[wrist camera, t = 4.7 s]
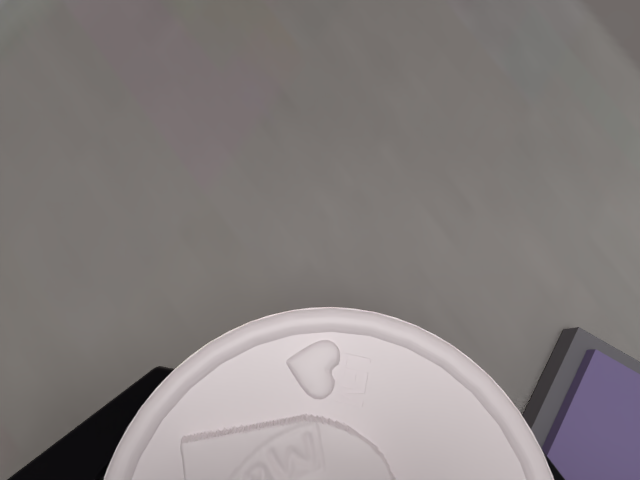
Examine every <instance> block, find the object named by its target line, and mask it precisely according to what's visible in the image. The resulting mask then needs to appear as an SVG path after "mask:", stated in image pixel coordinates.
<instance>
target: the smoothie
mask: <svg viewBox="0 0 640 480" xmlns="http://www.w3.org/2000/svg"><path fill="white" fill-rule="evenodd" d="M103 480H554V478H553V475H552V472H551V470H550V468H549V465H548V463H547V461H546V458H545V456H544V453H543V451H542V449H541V447H540V446H539V444H538V442H537V440H536V438H535V436H534V434H533V432H532V430H531V429H530V427H529V426H528V424H527V423H526V421H525V419H524V418H523V416H522V415H521V413H520V412H519V410H518V409H517V408H516V406H515V405H514V404H513V402H512V401H511V400H510V398H509V397H508V396H507V395H506V393H505V392H504V391H503V390H502V389H501V388H500V387H499V386H498V384H497V383H496V382H495V381H494V380H493V379H492V378H491V377H490V376H489V375H488V374H487V373H486V372H485V371H484V370H483V369H482V368H480V367H479V366H478V365H477V364H476V363H475V362H474V361H473V360H472V359H470V358H469V357H468V356H466V355H465V354H464V353H462V352H461V351H460V350H458V349H457V348H455V347H454V346H453V345H451V344H449V343H448V342H446V341H444V340H443V339H441V338H440V337H438V336H436V335H435V334H433V333H430V332H428V331H426V330H424V329H422V328H420V327H418V326H416V325H414V324H411V323H408V322H406V321H403V320H400V319H398V318H395V317H391V316H388V315H384V314H380V313H376V312H372V311H365V310H359V309H353V308H338V307H321V308H306V309H298V310H291V311H286V312H282V313H277V314H273V315H269V316H266V317H263V318H260V319H257V320H254V321H251V322H248V323H246V324H244V325H242V326H239V327H237V328H235V329H233V330H231V331H228V332H227V333H225V334H223V335H221V336H220V337H218V338H216V339H214V340H213V341H211V342H209V343H208V344H206V345H205V346H203V347H202V348H201V349H199V350H198V351H196V352H195V353H194V354H192V355H191V356H189V357H188V358H187V359H186V360H185V361H184V362H182V363H181V364H180V365H179V366H178V367H177V368H175V369H174V370H173V371H172V372H171V373H170V374H169V375H168V376H167V377H166V378H165V379H164V380H163V381H162V382H161V384H160V385H159V386H158V387H157V388H156V389H155V390H154V391H153V393H152V394H151V395H150V396H149V398H148V399H147V400H146V401H145V403H144V404H143V405H142V406H141V408H140V409H139V411H138V412H137V414H136V415H135V417H134V418H133V420H132V421H131V423H130V424H129V426H128V428H127V429H126V431H125V433H124V435H123V437H122V439H121V440H120V442H119V444H118V446H117V448H116V450H115V452H114V455H113V457H112V459H111V461H110V464H109V466H108V468H107V470H106V473H105V476H104V479H103Z"/></svg>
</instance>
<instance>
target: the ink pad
mask: <svg viewBox="0 0 640 480" xmlns="http://www.w3.org/2000/svg"><path fill="white" fill-rule="evenodd" d="M523 418H524V419H525V421H526V423H527V424H528V426H529V427H530V429H531V430H532V432H533V434H534V436H535V438H536V440H537V442H538V444H539V446H540V447H541V449H542V450H543V451H544V453H545V454H546V455H547V457H548V458H549V459H550V460H551V462H552V463H553V464H554V466H555V467H556V468H557V470H558V471H559V472H560V474H561V475H562V476H563V477H564V479H565V480H640V362H639V361H637V360H636V359H634V358H632V357H630V356H629V355H627V354H625V353H623V352H622V351H620V350H618V349H616V348H615V347H613V346H611V345H609V344H607V343H606V342H604V341H602V340H600V339H599V338H597V337H595V336H593V335H592V334H590V333H588V332H586V331H585V330H583V329H581V328H579V327H577V328H570V329H564V330H563V332H562V334H561V336H560V338H559V340H558V342H557V344H556V346H555V348H554V351H553V353H552V355H551V357H550V359H549V361H548V363H547V365H546V367H545V369H544V372H543V374H542V376H541V378H540V380H539V382H538V384H537V386H536V388H535V391H534V393H533V395H532V397H531V399H530V401H529V403H528V405H527V407H526V409H525V412H524V414H523Z"/></svg>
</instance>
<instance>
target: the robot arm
mask: <svg viewBox="0 0 640 480" xmlns="http://www.w3.org/2000/svg"><path fill="white" fill-rule="evenodd" d="M173 370H174V369H172V368H167V367H162V366H159V367H156V368H154V369H153V370H151V371H150V372H149V373H147V374H146V375H145V376H143V377H142V378H141V379H139V380H138V381H137V382H135V383H134V384H133V385H131V386H130V387H129V388H127V389H126V390H125V391H124V392H122V393H121V394H120V395H118V396H117V397H116V398H114V399H113V400H112V401H110V402H109V403H108V404H106V405H105V406H104V407H102V408H101V409H100V410H98V411H97V412H96V413H95V414H93V415H92V416H91V417H89V418H88V419H87V420H85V421H84V422H83V423H81V424H80V425H79V426H77V427H76V428H75V429H73V430H72V431H71V432H69V433H68V434H67V435H66V436H64V437H63V438H62V439H60V440H59V441H58V442H56V443H55V444H54V445H52V446H51V447H50V448H48V449H47V450H46V451H44V452H43V453H42V454H40V455H39V456H38V457H37V458H35V459H34V460H33V461H31V462H30V463H29V464H27V465H26V466H25V467H23V468H22V469H21V470H19V471H18V472H17V473H15V474H14V475H13V476H11V477H10V478H9V479H8V480H103V479H104V476H105V473H106V470H107V468H108V466H109V464H110V461H111V459H112V457H113V455H114V452H115V450H116V448H117V446H118V444H119V442H120V440H121V439H122V437H123V435H124V433H125V431H126V429H127V428H128V426H129V424H130V423H131V421H132V420H133V418H134V417H135V415H136V414H137V412H138V411H139V409H140V408H141V406H142V405H143V404H144V403H145V401H146V400H147V399H148V398H149V396H150V395H151V394H152V393H153V391H154V390H155V389H156V388H157V387H158V386H159V385H160V384H161V382H162V381H163V380H164V379H165V378H166V377H167V376H168V375H169V374H170V373H171V372H172V371H173ZM542 451H543V450H542ZM543 453H544V451H543ZM544 456H545V458H546V461H547V463H548V465H549V468H550V470H551V472H552V475H553V478H554V480H565V479H564V477H563V476H562V475H561V474H560V472H559V471H558V470H557V468H556V467H555V466H554V464H553V463H552V462H551V460H550V459H549V458H548V457H547V455H546V454H545V453H544Z"/></svg>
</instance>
